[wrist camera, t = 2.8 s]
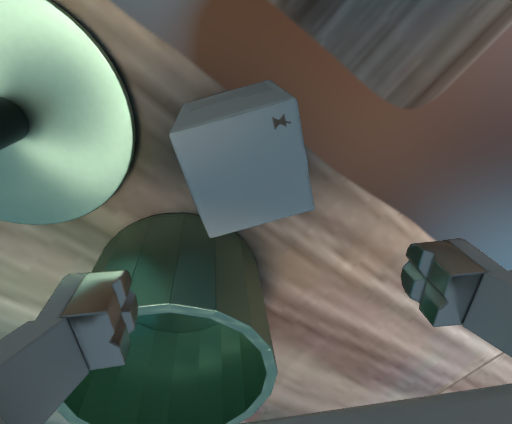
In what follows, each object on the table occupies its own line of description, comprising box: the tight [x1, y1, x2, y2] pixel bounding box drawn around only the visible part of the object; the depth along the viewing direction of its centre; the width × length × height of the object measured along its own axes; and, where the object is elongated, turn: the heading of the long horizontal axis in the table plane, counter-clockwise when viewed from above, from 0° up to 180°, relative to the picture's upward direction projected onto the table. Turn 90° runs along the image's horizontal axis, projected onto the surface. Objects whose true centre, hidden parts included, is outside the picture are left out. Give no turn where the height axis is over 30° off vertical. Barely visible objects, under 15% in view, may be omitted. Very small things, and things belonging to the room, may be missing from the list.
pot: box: [57, 213, 277, 424], centre depth 23 cm, size 13×14×10 cm
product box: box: [169, 80, 314, 238], centre depth 18 cm, size 6×6×7 cm
